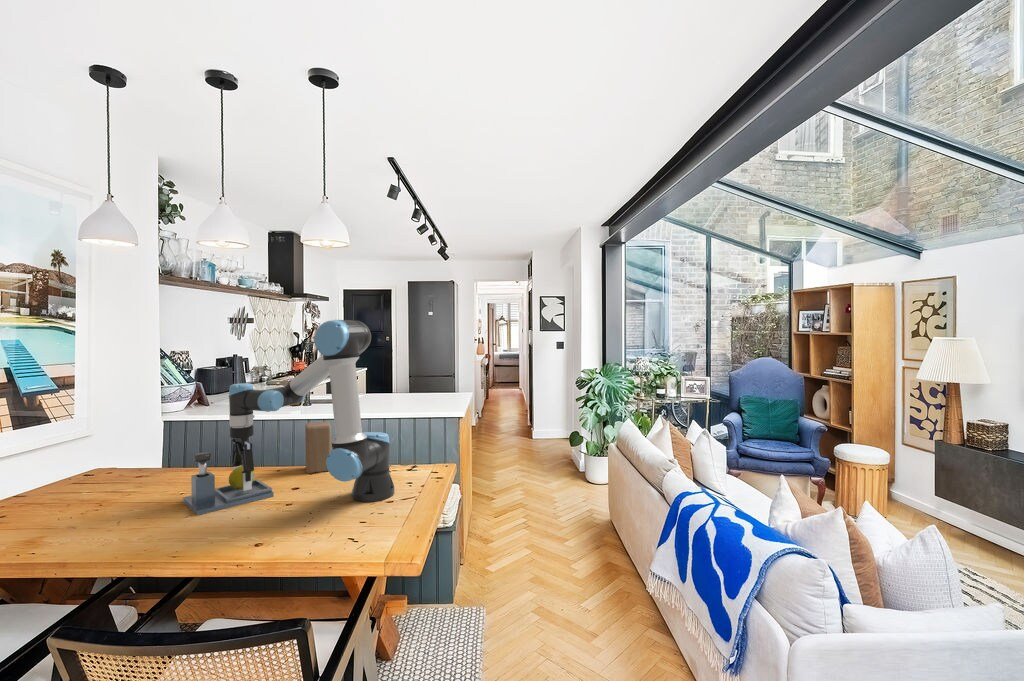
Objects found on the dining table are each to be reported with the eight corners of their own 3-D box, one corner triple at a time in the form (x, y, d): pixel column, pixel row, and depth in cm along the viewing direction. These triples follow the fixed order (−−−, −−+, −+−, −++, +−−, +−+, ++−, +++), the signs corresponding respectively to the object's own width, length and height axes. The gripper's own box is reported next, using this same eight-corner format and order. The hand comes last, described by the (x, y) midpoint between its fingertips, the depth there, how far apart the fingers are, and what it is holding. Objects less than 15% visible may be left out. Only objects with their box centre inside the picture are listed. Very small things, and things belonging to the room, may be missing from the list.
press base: (273, 496, 174) (273, 468, 173) (197, 515, 156) (196, 484, 156) (255, 485, 186) (255, 458, 185) (183, 501, 168) (182, 472, 168)
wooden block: (305, 467, 209) (305, 422, 208) (329, 465, 213) (329, 420, 212) (306, 474, 200) (305, 427, 199) (331, 471, 204) (331, 425, 203)
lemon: (242, 493, 168) (241, 471, 168) (222, 492, 169) (221, 470, 169) (262, 483, 179) (261, 462, 179) (243, 482, 180) (243, 461, 180)
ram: (213, 483, 165) (212, 453, 165) (196, 487, 161) (196, 456, 161) (209, 480, 168) (208, 451, 168) (192, 483, 165) (192, 454, 164)
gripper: (263, 428, 169) (264, 491, 169) (242, 420, 183) (243, 477, 184) (240, 431, 163) (241, 496, 164) (220, 423, 178) (222, 482, 179)
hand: (242, 486), depth 174 cm, fingers closed on lemon, 9 cm apart
